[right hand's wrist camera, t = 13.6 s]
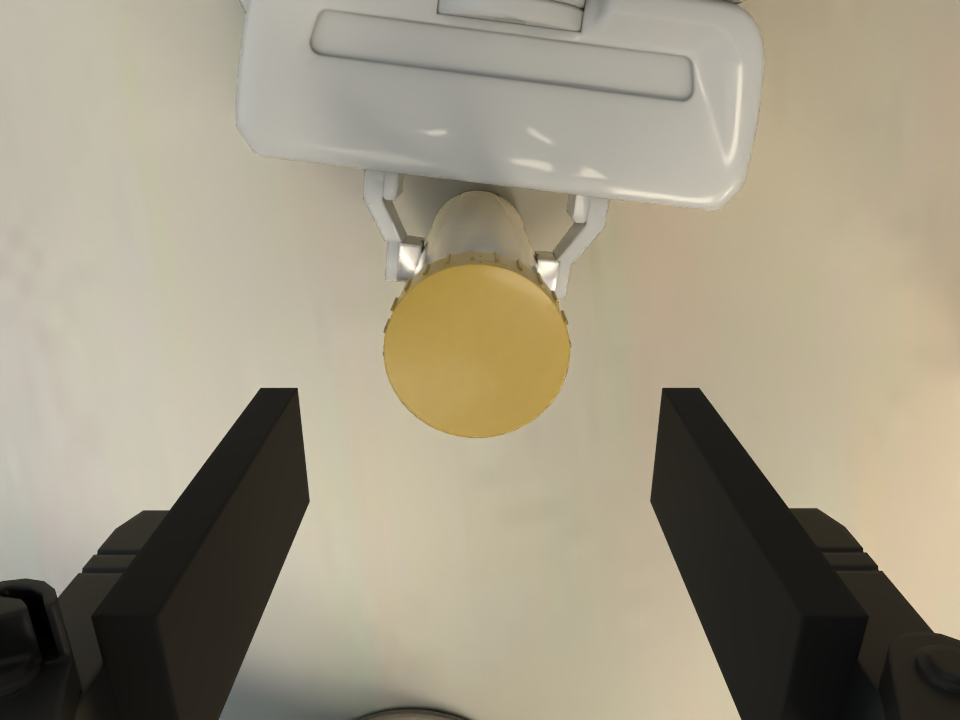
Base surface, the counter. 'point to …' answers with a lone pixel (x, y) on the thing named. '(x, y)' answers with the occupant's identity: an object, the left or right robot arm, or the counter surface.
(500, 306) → the lid
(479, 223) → the jar
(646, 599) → the counter surface
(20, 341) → the counter surface
